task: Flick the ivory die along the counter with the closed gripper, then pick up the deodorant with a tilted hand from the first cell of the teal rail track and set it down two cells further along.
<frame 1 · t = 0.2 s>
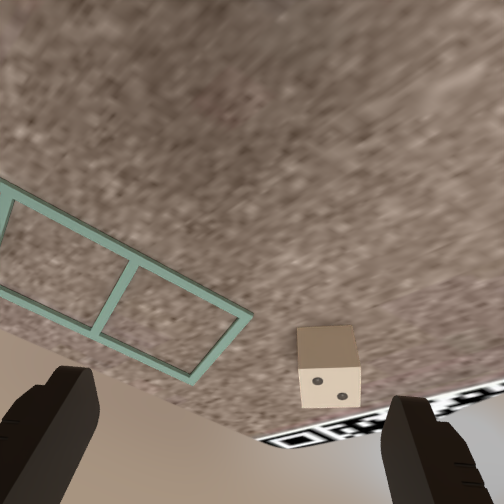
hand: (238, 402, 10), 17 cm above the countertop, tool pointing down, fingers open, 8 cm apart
die: (324, 345, 33), on the countertop
track: (57, 269, 31), on the countertop
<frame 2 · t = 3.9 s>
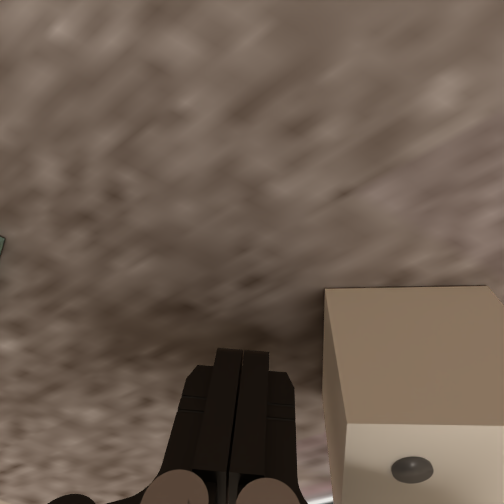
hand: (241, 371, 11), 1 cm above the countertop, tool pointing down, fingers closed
die: (395, 346, 12), on the countertop, touching gripper
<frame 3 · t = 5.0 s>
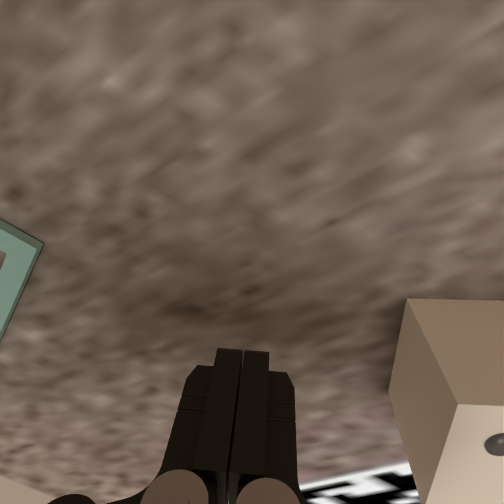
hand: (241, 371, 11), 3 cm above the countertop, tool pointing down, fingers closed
die: (459, 349, 14), on the countertop
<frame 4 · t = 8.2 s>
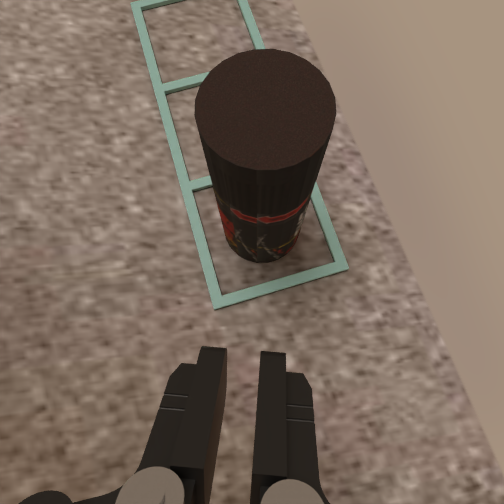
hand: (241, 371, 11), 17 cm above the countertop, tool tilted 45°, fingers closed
deodorant: (261, 227, 31), on the countertop
track: (227, 123, 33), on the countertop
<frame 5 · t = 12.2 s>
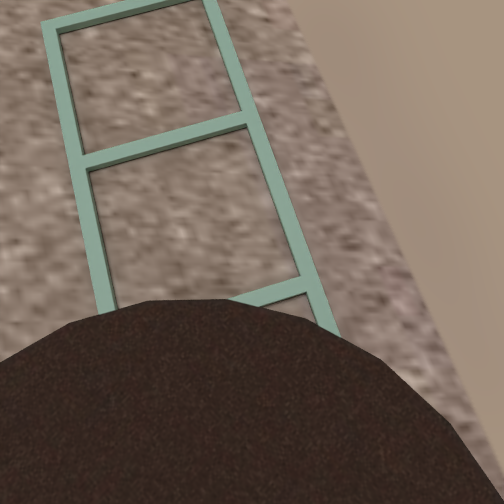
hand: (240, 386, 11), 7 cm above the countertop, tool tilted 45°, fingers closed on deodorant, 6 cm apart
deodorant: (244, 416, 18), on the countertop, touching gripper
track: (189, 222, 20), on the countertop
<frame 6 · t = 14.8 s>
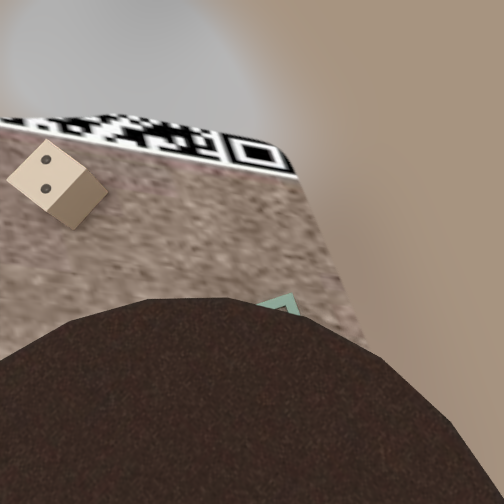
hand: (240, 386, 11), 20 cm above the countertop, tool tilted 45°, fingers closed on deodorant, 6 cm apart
deodorant: (245, 416, 18), point 12 cm above the countertop, touching gripper
die: (73, 197, 35), on the countertop
when the fingers open (8 cm above the countertop, at t = 17.7 s): deodorant drops 1 cm, on the countertop.
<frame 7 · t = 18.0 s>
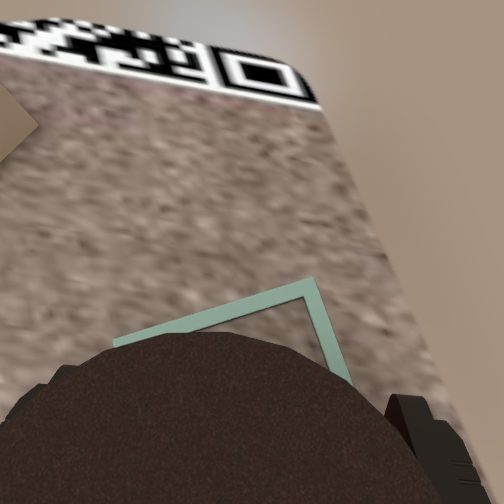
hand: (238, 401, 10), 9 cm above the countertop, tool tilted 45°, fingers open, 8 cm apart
deodorant: (245, 416, 19), on the countertop
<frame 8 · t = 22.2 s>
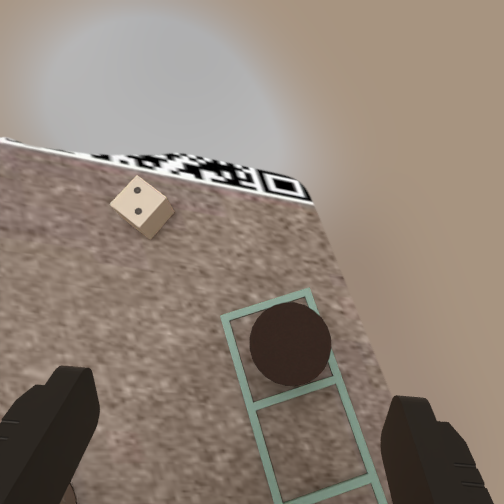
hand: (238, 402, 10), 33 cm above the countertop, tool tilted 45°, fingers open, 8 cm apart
deodorant: (279, 349, 43), on the countertop
die: (149, 215, 47), on the countertop
track: (310, 440, 40), on the countertop
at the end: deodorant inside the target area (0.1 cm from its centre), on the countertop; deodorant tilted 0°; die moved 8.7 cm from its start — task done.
